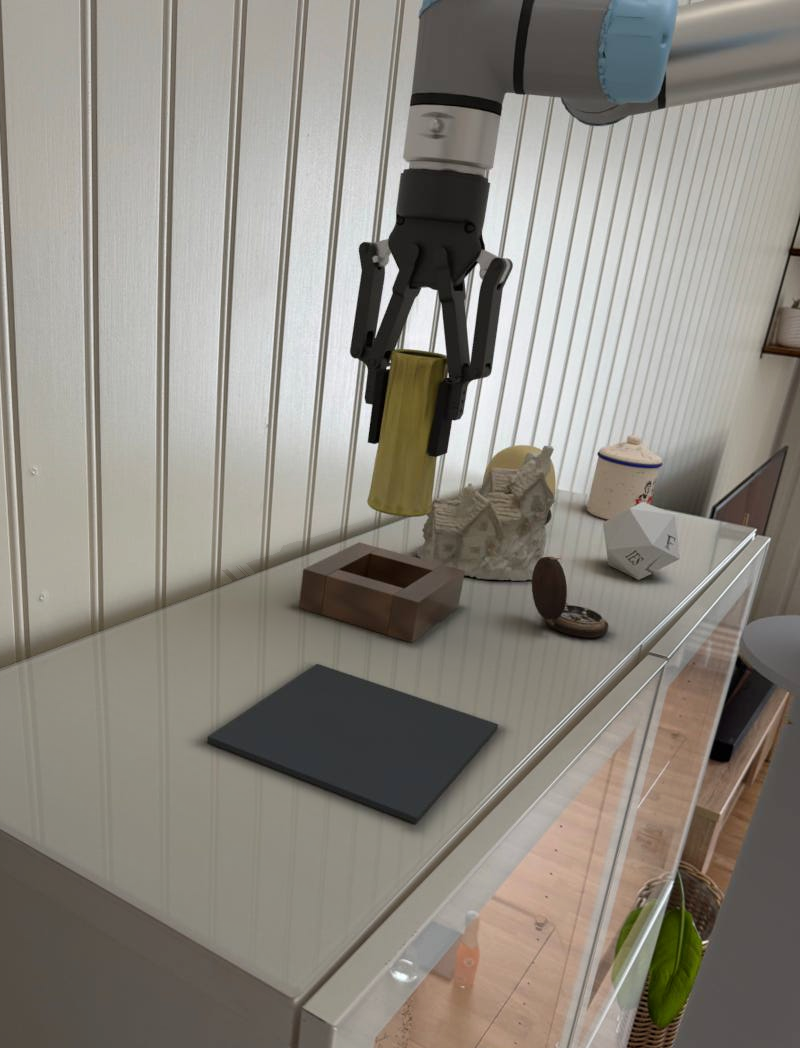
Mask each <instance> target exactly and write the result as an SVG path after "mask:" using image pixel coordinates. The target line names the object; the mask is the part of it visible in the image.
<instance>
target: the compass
mask: <svg viewBox="0 0 800 1048" xmlns="http://www.w3.org/2000/svg"><path fill="white" fill-rule="evenodd" d="M559 560H562V557H554V556H547V557H543V558H540V559H539V560H538V561H537V563H536V565H535V567H534V571H533V575H532V580H531V593H532V599H533V603H534V606H535V608H536V610H537V612H538V614H539V615H540V616H541V617H542V618H543V619H545V621H546V623H547V624H548V625H549V626H550V627H551V628H553V629H554V630H555V631H558V632H561V633H563V634H566V635H569V636H573V637H578V638H588V639H589V638H590V639H591V638H592V639H593V638H599V637H602V636H604V635H606V634H607V633H608V631H609V623H608V622H607V620H606V619H605V618H604V616H602V615H601V614H600V613H598V612H597V611H595V610H593V609H590V608H587V607H584V606H580V605H573V604H568V603H567V598H568V585H567V580H566V575H565V571H564V568H563V567H562V564H561V563H560V561H559Z"/></svg>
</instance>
